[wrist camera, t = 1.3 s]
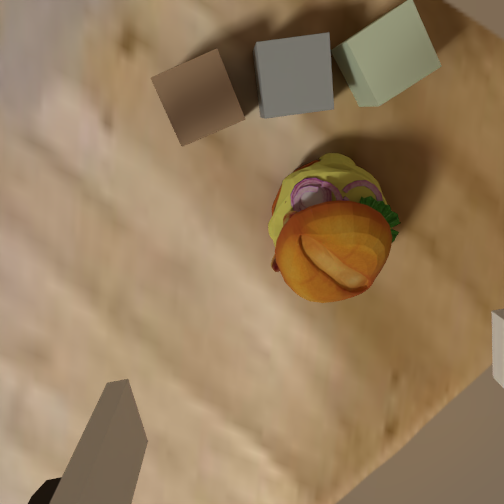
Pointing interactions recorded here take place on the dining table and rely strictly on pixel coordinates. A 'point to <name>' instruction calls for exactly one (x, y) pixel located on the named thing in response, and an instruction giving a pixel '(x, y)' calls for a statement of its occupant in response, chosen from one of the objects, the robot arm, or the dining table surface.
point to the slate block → (294, 75)
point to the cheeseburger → (331, 229)
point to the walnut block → (198, 97)
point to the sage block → (387, 56)
